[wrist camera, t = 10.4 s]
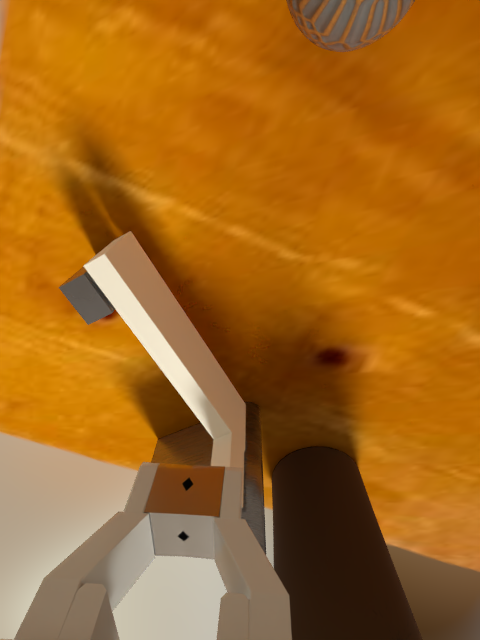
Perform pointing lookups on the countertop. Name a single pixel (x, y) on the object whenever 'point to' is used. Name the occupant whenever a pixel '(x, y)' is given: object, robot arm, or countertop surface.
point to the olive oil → (334, 553)
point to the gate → (173, 344)
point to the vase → (347, 21)
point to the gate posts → (193, 440)
